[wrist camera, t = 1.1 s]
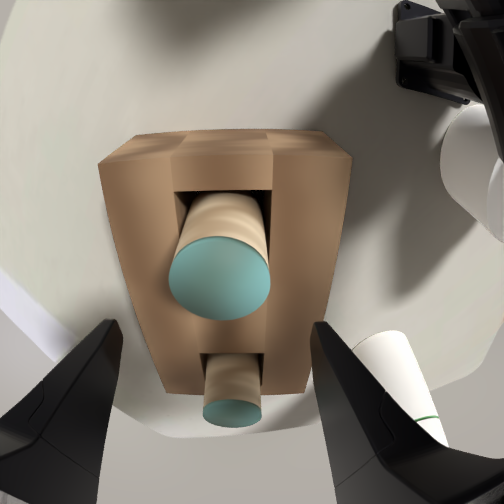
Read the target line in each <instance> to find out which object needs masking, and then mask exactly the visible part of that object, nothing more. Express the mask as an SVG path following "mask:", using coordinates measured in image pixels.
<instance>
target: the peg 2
mask: <svg viewBox="0 0 504 504" xmlns="http://www.w3.org/2000/svg"><path fill="white" fill-rule="evenodd" d="M203 417H204V419H205V420H206V421H208V422H209V423H211V424H214V425H217V426H221V427H229V428H238V427H246V426H250V425H253V424H255V423H257V422H258V421H260V419H261V417H262V416H261V396H260V376H259V357H258V353H208V356H207V367H206V380H205V392H204V406H203Z"/></svg>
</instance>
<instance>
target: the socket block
mask: <svg viewBox="0 0 504 504" xmlns="http://www.w3.org/2000/svg"><path fill="white" fill-rule="evenodd" d="M352 160H353V158H352V157H351V156H350V155H349V154H347V153H346V152H345V151H344V150H343V149H342V148H341V147H340V146H339V145H337V144H336V143H335V142H334V141H333V140H332V139H331V138H329V137H328V136H327V135H326V134H325V133H324V132H322V131H308V130H284V129H219V130H195V131H179V132H166V133H154V134H144V135H136V136H134V137H133V138H132V139H130V140H129V141H127V142H126V143H125V144H123V145H122V146H121V147H119V148H118V149H117V150H115V151H114V152H113V153H111V154H110V155H109V156H107V157H106V158H105V159H104V160H102V161H101V162H100V163H98V168H99V174H100V179H101V185H102V190H103V195H104V199H105V204H106V209H107V213H108V217H109V222H110V226H111V230H112V234H113V238H114V242H115V246H116V250H117V253H118V257H119V261H120V264H121V268H122V271H123V275H124V278H125V281H126V285H127V288H128V291H129V294H130V297H131V300H132V304H133V307H134V310H135V313H136V315H137V318H138V321H139V324H140V327H141V330H142V333H143V335H144V338H145V341H146V343H147V346H148V349H149V351H150V354H151V356H152V359H153V362H154V364H155V367H156V369H157V371H158V374H159V376H160V379H161V381H162V383H163V386H164V388H165V390H166V393H172V394H189V395H204V392H205V380H206V367H207V356H208V353H258V357H259V376H260V395H281V394H298V393H304V392H305V388H306V385H307V381H308V378H309V374H310V370H311V367H312V361H311V350H310V336H311V331H312V327H313V323H314V322H317V321H323V320H324V315H325V311H326V307H327V302H328V298H329V293H330V289H331V284H332V279H333V275H334V270H335V265H336V260H337V254H338V249H339V244H340V238H341V233H342V227H343V221H344V215H345V209H346V203H347V196H348V189H349V182H350V175H351V168H352ZM205 190H263V223H264V231H265V239H266V247H267V256H268V264H269V273H270V291H269V294H268V296H267V298H266V300H265V301H264V303H263V304H262V305H261V306H260V307H259V308H258V309H256V310H255V311H254V312H252V313H251V314H248V315H246V316H244V317H241V318H238V319H233V320H211V319H206V318H203V317H200V316H197V315H195V314H193V313H191V312H189V311H188V310H186V309H185V308H184V307H183V306H181V305H180V304H179V303H178V301H177V300H176V299H175V297H174V296H173V294H172V292H171V289H170V286H169V272H170V268H171V265H172V262H173V258H174V255H175V252H176V249H177V246H178V243H179V239H180V236H181V233H182V230H183V227H184V224H185V221H186V218H187V215H188V212H189V209H190V206H191V204H192V202H193V200H194V198H195V197H196V196H195V191H205Z"/></svg>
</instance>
